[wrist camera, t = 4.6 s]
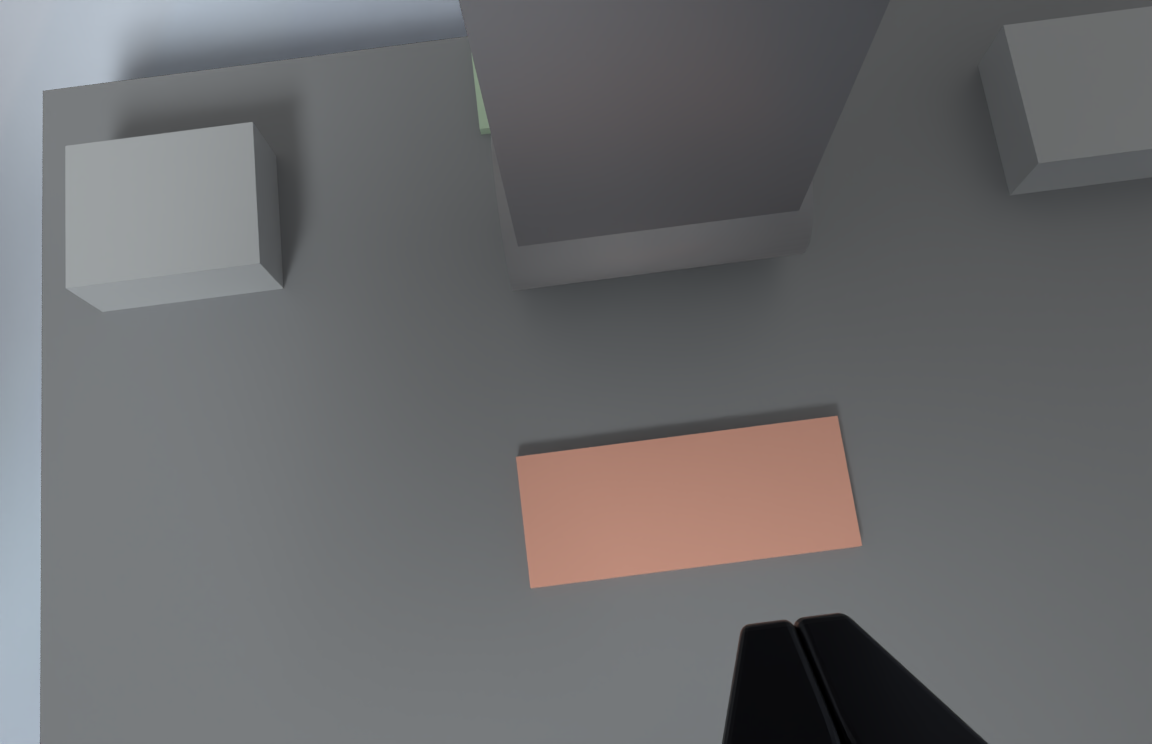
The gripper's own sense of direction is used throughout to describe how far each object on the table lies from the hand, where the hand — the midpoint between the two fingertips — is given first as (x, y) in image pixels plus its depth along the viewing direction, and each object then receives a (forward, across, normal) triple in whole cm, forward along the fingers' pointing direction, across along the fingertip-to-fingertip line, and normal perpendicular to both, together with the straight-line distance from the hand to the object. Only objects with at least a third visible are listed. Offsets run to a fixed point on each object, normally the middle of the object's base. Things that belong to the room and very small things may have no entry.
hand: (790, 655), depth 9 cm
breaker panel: (+9, 0, +4) cm, 10 cm away
